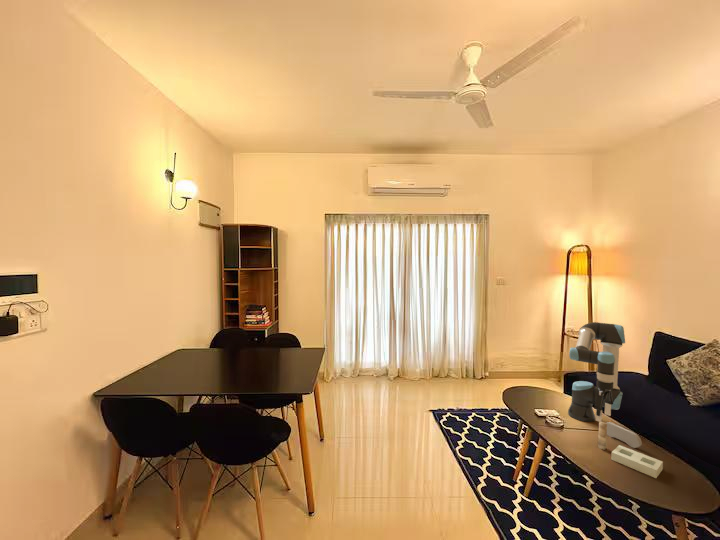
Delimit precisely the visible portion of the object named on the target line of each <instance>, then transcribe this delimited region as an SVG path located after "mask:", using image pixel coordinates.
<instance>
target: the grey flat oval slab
mask: <svg viewBox="0 0 720 540" xmlns="http://www.w3.org/2000/svg"><path fill="white" fill-rule="evenodd" d="M605 423H606V424H607V435H606V436H608V437H610V438H615V439H617V440H619V441H621V442H623V443H626V445H628V447H631V448H633V449H637V448H641V446H642V439H641V437H640V436H639V435H638V433H636V432H634V431H632V430H629V429H627V428H624V427H623V426H621V425H618V424H616V423H614V422H612V421H611V422H610V421H608V422H605Z"/></svg>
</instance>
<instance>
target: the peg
mask: <svg viewBox="0 0 720 540" xmlns="http://www.w3.org/2000/svg"><path fill="white" fill-rule="evenodd" d="M606 423H607V422H604V421H602V422H598V433H597V434H598V437H597V447H598V449H600V450H603V451H605V450H606V449H607V436H608V435H607V424H606Z"/></svg>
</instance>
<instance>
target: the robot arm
mask: <svg viewBox="0 0 720 540" xmlns="http://www.w3.org/2000/svg"><path fill="white" fill-rule="evenodd" d="M593 340H597V341H600V344H601V345H602V351H598V350H597V351H596V350H591V346H592V343H593ZM623 344H626V336H625V327H624V326H623V325H621V324H615V323H605V322H596V321H594V322H588V323H586V324H583V325H582V326H580V327H579V329H578V338H577V341H576V344H575V347H570V348H569V352H568V353H569V354H568V355H569V359H570V360H572V361H576V362H582V363H586V364H587V363H588V364H594V365H597V369H596V370H597V371H596V373H595V374H596V386H595V385H594V383H592V382H590V381H586V380H585V381H584V380H579V381H574V382H573V383H572V388H571V404H570V405H569V408H568V410H567V411H568V412H567V414H568V416H569V417H571V418H572V419H575V420H578V421H579V422H580V421H582V422H588V423H592V422H595V421H596V422H598V423H599V422H603V408H604V415H605V416H609V417H611V415H612V410H617V411H618V410H619V409H620V407H621V403H622V398H623V391H621V389H620V387H619V386H618V377H619V362H620V361H619V357H620V348H621V347H623ZM593 405H594V407H593ZM594 409H595V411H594Z"/></svg>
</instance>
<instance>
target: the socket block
mask: <svg viewBox="0 0 720 540" xmlns="http://www.w3.org/2000/svg"><path fill="white" fill-rule="evenodd" d="M610 455H611V461H613V462H616V463H619V464H620V465H621V464H622V465H623V466H625V467H628V468H631V469H633V470H635V471H637V472H640V473H643V474H645V475H647V476H649V477H652V478H654V479H657V478H658V477H659V475H660V474H661V472H662V471H663V468H664V461H663V460H661V459H660V460H659V459H657V458H655V457H651V456H649V455H647V454H644V453H641V452H639V451H636V450H633V449H632V448H628V447H626V446H624V445H620V444H619V445H618V446H617V447H615V449H613V450H612V451H611V454H610Z"/></svg>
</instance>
